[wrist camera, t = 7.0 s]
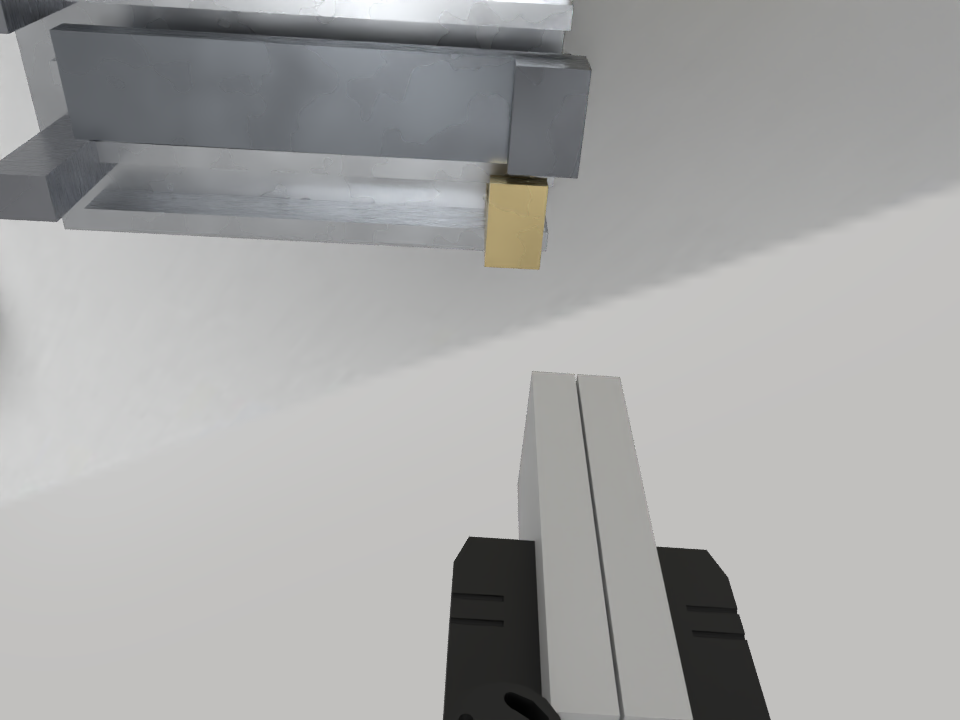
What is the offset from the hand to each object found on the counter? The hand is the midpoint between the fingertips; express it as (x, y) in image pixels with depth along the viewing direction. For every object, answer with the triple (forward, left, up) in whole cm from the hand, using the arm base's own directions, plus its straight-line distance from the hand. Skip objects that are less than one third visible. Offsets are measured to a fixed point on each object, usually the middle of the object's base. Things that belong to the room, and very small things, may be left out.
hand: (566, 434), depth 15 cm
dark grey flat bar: (+7, -1, -17) cm, 18 cm away
